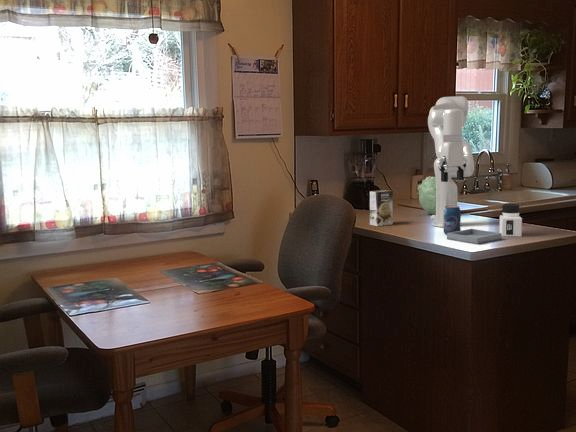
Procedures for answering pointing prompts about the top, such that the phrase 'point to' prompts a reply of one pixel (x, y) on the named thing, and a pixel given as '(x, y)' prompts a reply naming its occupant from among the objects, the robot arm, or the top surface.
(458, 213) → the soda can
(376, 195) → the coffee box
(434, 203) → the cabbage
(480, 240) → the tray
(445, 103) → the robot arm
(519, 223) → the container
